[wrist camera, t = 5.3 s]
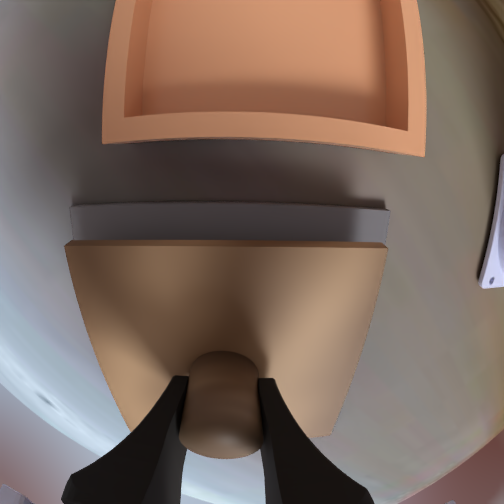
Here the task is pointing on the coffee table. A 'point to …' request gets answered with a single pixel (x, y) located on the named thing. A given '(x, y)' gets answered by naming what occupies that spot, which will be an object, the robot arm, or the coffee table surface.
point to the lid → (228, 328)
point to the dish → (267, 73)
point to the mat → (228, 222)
